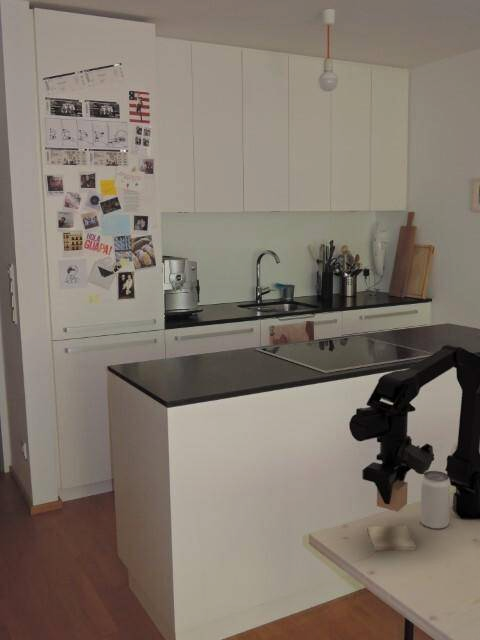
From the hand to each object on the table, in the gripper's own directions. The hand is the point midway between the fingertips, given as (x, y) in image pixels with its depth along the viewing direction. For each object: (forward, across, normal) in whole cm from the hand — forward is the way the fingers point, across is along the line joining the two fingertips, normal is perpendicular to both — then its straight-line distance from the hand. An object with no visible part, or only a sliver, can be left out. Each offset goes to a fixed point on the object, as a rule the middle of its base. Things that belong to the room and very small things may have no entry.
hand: (392, 499), depth 145 cm
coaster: (+10, 0, 0) cm, 10 cm away
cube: (+1, 0, 0) cm, 1 cm away
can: (+10, +13, -5) cm, 17 cm away
